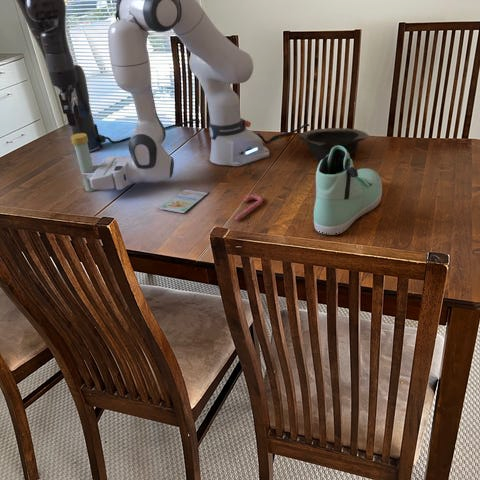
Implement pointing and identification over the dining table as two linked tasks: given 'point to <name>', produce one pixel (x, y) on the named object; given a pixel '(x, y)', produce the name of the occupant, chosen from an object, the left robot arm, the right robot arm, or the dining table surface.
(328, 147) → the stone bowl
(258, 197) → the candy cane
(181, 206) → the baking ingredient package
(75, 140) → the lid
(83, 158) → the mint green cylinder
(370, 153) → the dining table surface
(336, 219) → the sneaker
